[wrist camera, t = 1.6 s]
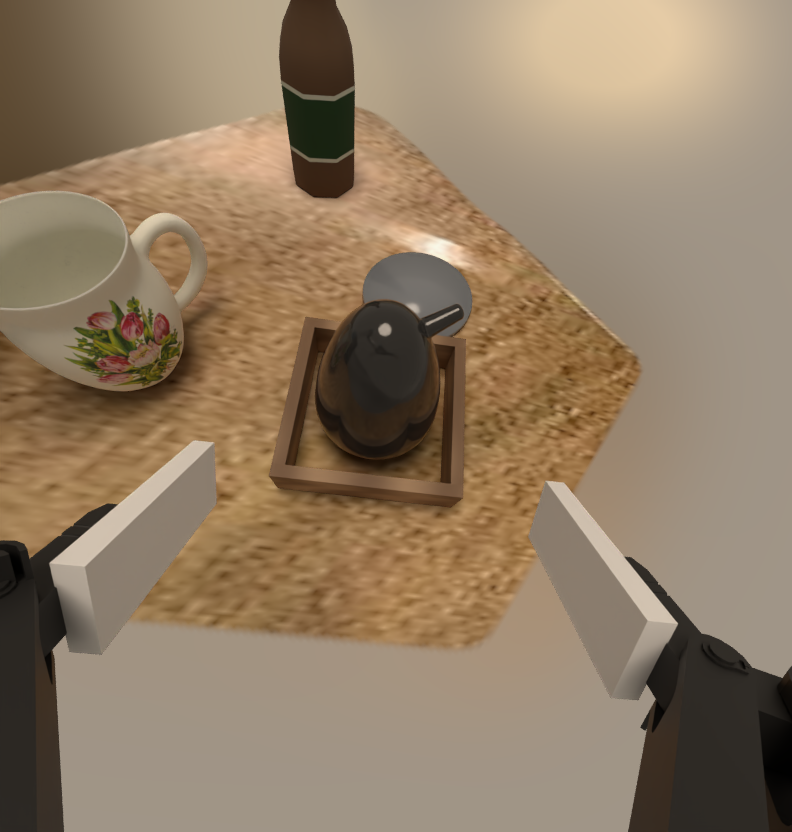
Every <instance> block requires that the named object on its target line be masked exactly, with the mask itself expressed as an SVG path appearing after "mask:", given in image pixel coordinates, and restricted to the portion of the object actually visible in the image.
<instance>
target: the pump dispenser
mask: <svg viewBox="0 0 792 832" xmlns="http://www.w3.org/2000/svg"><path fill="white" fill-rule="evenodd" d="M463 317H464V311H463V309H462V307H461V306H460V305H459V304H454V305H451V306H449V307H447V308H444V309H442V310H439V311H437V312H435V313H432V314H430V315H427V316H425V317H422V318H419V317H418V315H417V314H416V313H415V312H414V311H413V310H411V309H410V308H409V307H408V306H406V305H405V304H403V303H401V302H399V301H396V300H391V299H377V300H373V301H369V302H367V303H365V304H363V305H361V306H359V307H358V308H356V309H355V310H353V311H352V312H351V313H350V314H349V315H348V316H347V317H346V318H345V319H344V320H343V321H342V322H341V324H340V325H339V326H338V328H337V329H336V331H335V332H334V334H333V336H332V338H331V339H330V341H329V343H328V345H327V347H326V349H325V352H324V354H323V357H322V359H321V362H320V366H319V370H318V374H317V380H316V389H315V405H316V411H317V415H318V419H319V422H320V424H321V426H322V428H323V430H324V431H325V433H326V434H327V436H328V437H329V438H330V439H331V440H332V441H333V442H334V443H335V444H336V445H337V446H338V447H340V448H341V449H343V450H344V451H346V452H348V453H350V454H353V455H355V456H358V457H362V458H367V459H388V458H393V457H397V456H399V455H402V454H404V453H406V452H408V451H410V450H411V449H413V448H414V447H415V446H417V445H418V444H419V443H420V442H421V441H422V440H423V439H424V437H425V436H426V435H427V433H428V432H429V430H430V428H431V426H432V424H433V421H434V419H435V416H436V412H437V407H438V402H439V395H440V368H439V361H438V356H437V352H436V349H435V346H434V343H433V340H432V337H433V336H435V335H437V334H438V333H440V332H442V331H443V330H445V329H447V328H448V327H450V326H452V325H453V324H455V323H457V322H458V321H460V320H462V319H463Z"/></svg>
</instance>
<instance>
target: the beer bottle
mask: <svg viewBox="0 0 792 832" xmlns="http://www.w3.org/2000/svg"><path fill="white" fill-rule="evenodd" d="M279 60H280V73H281V84H282V91H283V98H284V105H285V113H286V120H287V127H288V134H289V141H290V149H291V156H292V163H293V170H294V175H295V180H296V183H297V185H298V186H299V187H301V188H302V189H304V190H305V191H306V192H308V193H309V194H311V195H312V196H314V197H335V198H337V197H338V196H340V195H341V194H343V193H344V192H346V191H347V190H349V189H350V188H352V186H353V180H354V108H355V101H354V100H355V96H354V95H355V85H354V84H355V82H354V64H353V54H352V45H351V41H350V37H349V34H348V30H347V26H346V24H345V22H344V20H343V18H342V16H341V14H340V12H339V10H338V8H337V6H336V1H335V0H291V1H290V4H289V6H288V9H287V11H286V14H285V16H284V19H283V22H282V30H281V36H280V50H279Z"/></svg>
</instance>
